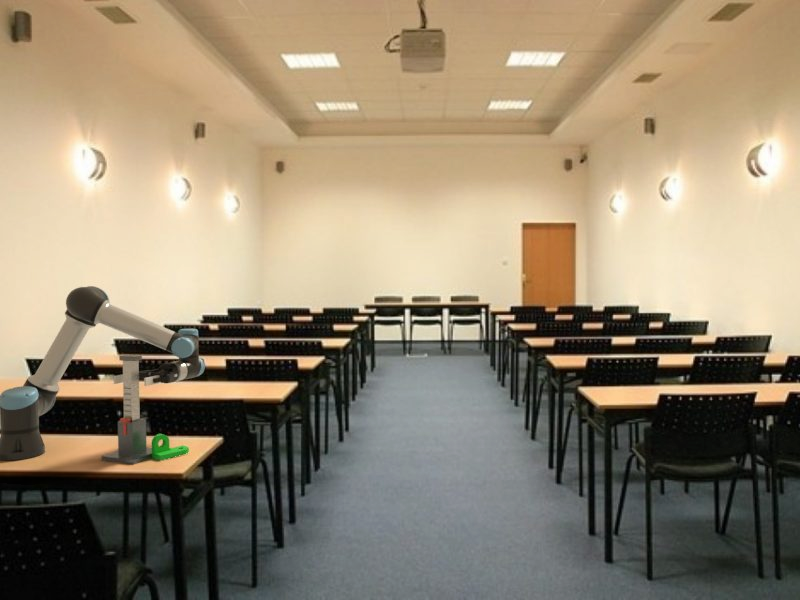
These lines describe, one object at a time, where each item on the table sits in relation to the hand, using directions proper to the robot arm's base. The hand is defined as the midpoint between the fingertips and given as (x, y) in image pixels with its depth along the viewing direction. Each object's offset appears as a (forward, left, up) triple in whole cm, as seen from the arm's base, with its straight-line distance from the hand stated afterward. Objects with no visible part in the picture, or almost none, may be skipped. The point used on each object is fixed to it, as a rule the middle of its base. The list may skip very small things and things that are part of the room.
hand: (129, 381), depth 218 cm
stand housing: (0, +1, -27) cm, 27 cm away
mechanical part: (+12, +7, -27) cm, 30 cm away
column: (0, +1, -19) cm, 19 cm away
